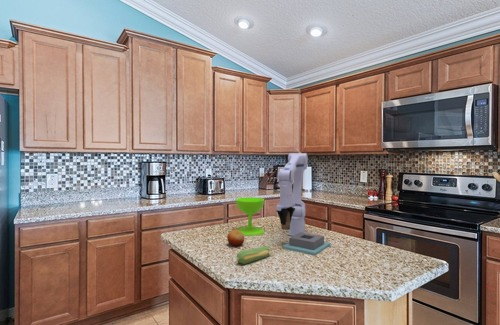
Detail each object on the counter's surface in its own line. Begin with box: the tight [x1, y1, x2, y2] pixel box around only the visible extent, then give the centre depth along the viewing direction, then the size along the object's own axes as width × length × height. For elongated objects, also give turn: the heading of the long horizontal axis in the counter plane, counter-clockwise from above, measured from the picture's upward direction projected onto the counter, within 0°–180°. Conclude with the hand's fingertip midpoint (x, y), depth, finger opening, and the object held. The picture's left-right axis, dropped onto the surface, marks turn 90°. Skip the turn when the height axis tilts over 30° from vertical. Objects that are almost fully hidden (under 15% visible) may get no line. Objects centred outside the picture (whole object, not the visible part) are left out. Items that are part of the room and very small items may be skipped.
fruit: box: [226, 229, 245, 248], centre depth 136 cm, size 8×8×8 cm
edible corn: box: [236, 244, 272, 265], centre depth 117 cm, size 5×20×5 cm
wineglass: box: [235, 197, 265, 237], centre depth 160 cm, size 16×16×18 cm
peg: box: [280, 212, 290, 231], centre depth 137 cm, size 4×4×8 cm
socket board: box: [281, 232, 332, 256], centre depth 133 cm, size 18×16×4 cm
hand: (285, 223), depth 137 cm, fingers closed on peg, 4 cm apart
